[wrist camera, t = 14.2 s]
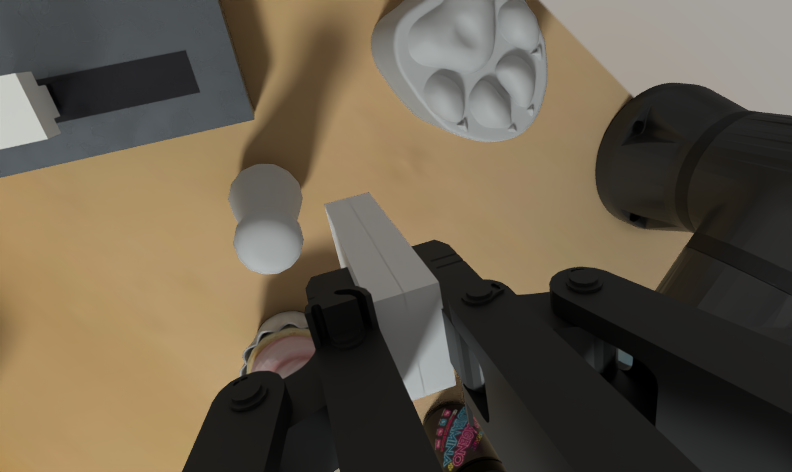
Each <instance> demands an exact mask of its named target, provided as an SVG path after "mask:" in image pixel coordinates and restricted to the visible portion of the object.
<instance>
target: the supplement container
mask: <svg viewBox="0 0 792 472" xmlns="http://www.w3.org/2000/svg"><path fill="white" fill-rule="evenodd" d="M473 419H474V426H471V427H470V426H469V423H468V419H467V413H466V407H465V404H462V403H459V402H449V403H445V404H442V405H440V406H438V407H436V408H435V409H433V410H432V411H431V412H430V413H429V414H428V416H427V417H426V419H425V421H424V423H423V427H424V429H425V432H426V434H427V436H428V438H429V441H430V443H431V445H432V447H433V450H434V452H435V454H436V456H437V459H438V461H439V463H440V465H441V468H442V470H443V472H507V470H506V469H505V467H504V465H503V464H502V462H501V460H500V459H499V457H498V455H497V453H496V452H495V450H494V448H493V447H492V445H491V443H490V442H489V440H488V438H487V436H486V435H485V433H484V431H483V430H482V428H481V426H480V425H479V423H478V421H477V419H476V418H475V416H474V415H473Z"/></svg>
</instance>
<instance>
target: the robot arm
mask: <svg viewBox="0 0 792 472" xmlns="http://www.w3.org/2000/svg"><path fill="white" fill-rule="evenodd" d="M595 175H596V186H597V190H598V194H599V197H600V199H601V201H602V203H603V205H604V206H605V208H606V209H607V210H608V211H609V212H610V213H611V214H612V215H613V216H615V217H616V218H618V219H620V220H622V221H624V222H626V223H628V224H631V225H633V226H635V227H639V228H643V229H649V230H666V231H683V232H692V233H694V234H693V236H692V237H691V239H690V240H689V242H688V243H687V245H686V246H685V247H684V249H683V250H682V252H681V253H680V254H679V256H678V257H677V259H676V260H675V262H674V263H673V265H672V266H671V268H670V269H669V271H668V272H667V274H666V275H665V277H664V278H663V280H662V281H661V283H660V284H659V286H658V287H657V288H656V290H655V291H654V290H651V289H649V288H646V287H644V286H642V285H639V284H637V283H634V282H632V281H629V280H627V279H624V278H622V277H619V276H617V275H614V274H612V273H610V272H607V271H604V270H600V269H597V268H589V267H576V268H575V267H574V268H569V269H566V270H563V271H560V272H558V273H557V274H555V275H554V276H553V277H552V278H551V281H550V284H549V285H550V292H545V293H536V294H525V295H516V294H515V293H514V292H513V291H512V290H511V289H510V288H509V287H508V286H506V285H504V284H503V283H501V282H498V281H494V280H483V279H482V278H481V277H480V276H479V275H478V274H477V273H476V272H475V271H474V270H473V269H472V268H471V267H470V266H469V265H468V264H467V263H466V262H465V261H463V259H462V258H461V257H460V256H459V255H458V254H457V253H456V252H455V251H454V250H453V249H452V248H451V247H450V246H449V245H448V244H445V243H443V242H440V241H437V240H432V241H429V242H425V243H422V244H418V245H415V246H412V247H411V246H410V244H409V243H408V242H407V241H406V239H405V238H404V237H403V235H402V234H401V233H400V232H399V230H398V229H397V228H396V227H395V225H394V224H393V223H392V221H391V220H390V219H389V218H388V216H387V215H386V214H385V212H384V211H383V210H382V209H381V207H380V206H379V205H378V203H377V202H376V201H375V200H374V198H373V197H372V196H371V194H370V193H369V192H368V193H364V194H361V195H357V196H353V197H349V198H346V199H342V200H338V201H334V202H331V203H327V204H324V205H325V209H326V213H327V217H328V221H329V224H330V228H331V232H332V236H333V239H334V243H335V247H336V251H337V255H338V258H339V262H340V266H341V269H338V270H335V271H331V272H328V273H324V274H321V275H318V276H314V277H311V279H310V281H309V283H308V285H307V287H306V294H307V299H308V303H309V304H308V305H307V306H306V308H305V314H304V315H305V318H306V321H307V324H308V327H309V331H310V334H311V337H312V340H313V343H314V346H315V352H314V354H313V356H312V357H311V358H310V360H309V361H308V362H307V363H306V364H305V365H304V366H303V367H301V368H300V369H298V370H297V371H295V372H294V373H292V374H291V375H289V376H287V377H285V378H284V379H283V378H282V377H281V376H280V375H279V374H278V373H275V372H272V371H255V372H252V373H249V374H245V375H243V376H241V377H239V378H237V379H235V380H233V381H232V382H230V383H229V384H228V385H226V386H225V387H224V388H223V389H222V390H221V391H220V392H219V393H218V394H217V396H216V397H215V399H214V400H213V402H212V404H211V406H210V409H209V411H208V413H207V416H206V418H205V420H204V422H203V425H202V427H201V429H200V432H199V434H198V436H197V439H196V441H195V443H194V445H193V448H192V450H191V452H190V455H189V457H188V459H187V462H186V464H185V466H184V468H183V471H182V472H334V471H335V470H337V469H338V468H339V469H340V472H443V470H442V468H441V465H440V463H439V461H438V459H437V456H436V454H435V452H434V450H433V447H432V445H431V443H430V441H429V438H428V436H427V434H426V432H425V429H424V427H423V425H422V423H421V420H420V418H419V416H418V414H417V411H416V409H415V407H414V405H413V402H412V401H413V400H416V399H419V398H421V397H424V396H427V395H430V394H433V393H436V392H438V391H441V390H444V389H447V388H450V387H453V386H455V385H456V381H455V375H454V369H455V371H456V372H457V374H458V375H459V377H460V379H461V382H462V388H463V394H464V400H465V407H466V413H467V419H468V423H469V426H470V427H471V426H474V419H473V415H474V416H475V418H476V419H477V421H478V423H479V425H480V426H481V428H482V430H483V431H484V433H485V435H486V436H487V438H488V440H489V442H490V443H491V445H492V447H493V448H494V450H495V452H496V453H497V455H498V457H499V459H500V460H501V462H502V464H503V465H504V467H505V469H506V470H507V472H792V116H790V115H780V114H772V113H762V112H755V111H748V110H747V109H745V108H743V107H741V106H739V105H738V104H736V103H734V102H732V101H730V100H729V99H727V98H725V97H723V96H721V95H719V94H717V93H716V92H714V91H712V90H710V89H708V88H706V87H703V86H699V85H694V84H683V83H666V84H661V85H658V86H654V87H652V88H650V89H648V90H646V91H644V92H642V93H641V94H639V95H637V96H636V97H635V98H633V99H632V100H631V101H630V102H629V103H628V104H627V105H626V106H625V107H624V108H623V109H622V110H621V111H620V112H619V113H618V115H617V116H616V117H615V119H614V120H613V121H612V123H611V125H610V126H609V128H608V130H607V132H606V134H605V136H604V138H603V140H602V143H601V146H600V149H599V152H598V156H597V162H596V174H595ZM453 367H454V369H453Z"/></svg>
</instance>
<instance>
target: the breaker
mask: <svg viewBox="0 0 792 472" xmlns="http://www.w3.org/2000/svg"><path fill="white" fill-rule="evenodd" d="M59 116H60V114H59V112H58V110H57V108H56V106H55V104H54V102H53V100H52V98H51V96H50V93H49V91H48V89H47V87H46V85H42V86H38V85H37V82H36V80H35V78H34V76H33V74H32V72H22V73H14V74H8V75H3V76H0V149H5V148H9V147H14V146H19V145H23V144H28V143H32V142H37V141H41V140H46V139H49V138H51V137H54V136H56V135H58V134H61V132H60V130H59V128H58V126H57V124H56V122H55V120H54V118H57V117H59Z"/></svg>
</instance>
